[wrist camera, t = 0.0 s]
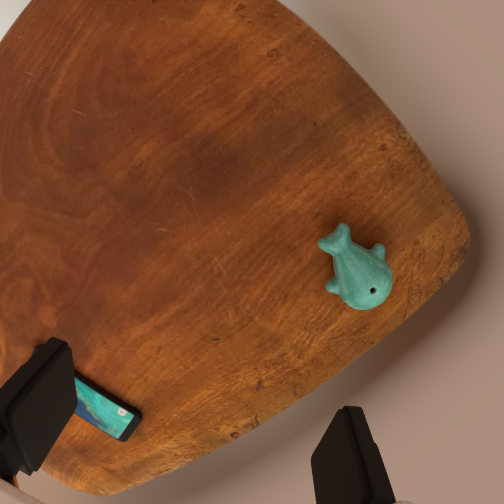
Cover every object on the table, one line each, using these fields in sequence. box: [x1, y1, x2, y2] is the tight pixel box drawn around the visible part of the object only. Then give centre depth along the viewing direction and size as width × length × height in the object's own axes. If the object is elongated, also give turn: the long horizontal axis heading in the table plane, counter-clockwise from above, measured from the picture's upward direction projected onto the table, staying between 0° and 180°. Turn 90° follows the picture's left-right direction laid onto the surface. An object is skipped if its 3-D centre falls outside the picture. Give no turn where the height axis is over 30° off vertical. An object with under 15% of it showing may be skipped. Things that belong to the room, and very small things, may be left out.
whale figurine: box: [318, 223, 393, 310], centre depth 24 cm, size 6×7×4 cm
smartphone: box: [33, 345, 142, 442], centre depth 31 cm, size 7×1×15 cm
